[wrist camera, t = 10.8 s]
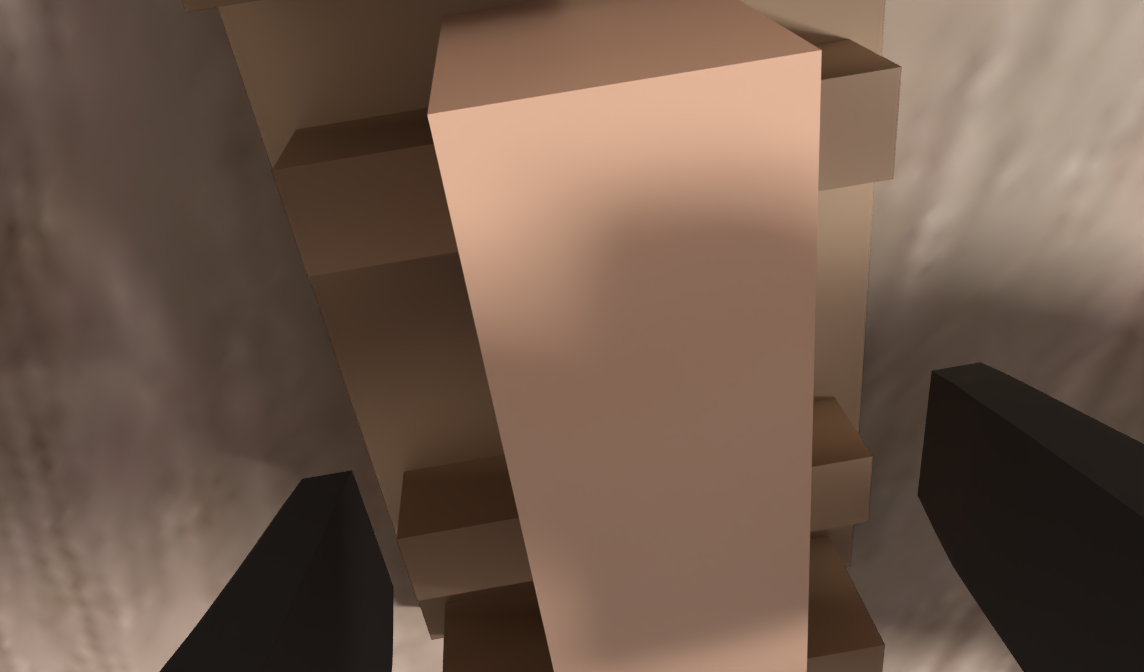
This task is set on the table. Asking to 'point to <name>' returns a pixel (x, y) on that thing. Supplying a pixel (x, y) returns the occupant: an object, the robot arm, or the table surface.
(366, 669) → the robot arm
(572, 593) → the peach rectangular block
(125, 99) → the table surface
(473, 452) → the rack
